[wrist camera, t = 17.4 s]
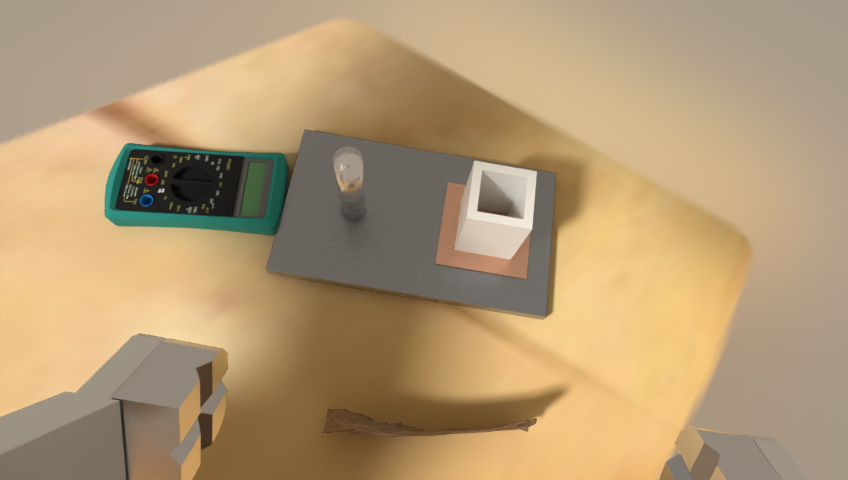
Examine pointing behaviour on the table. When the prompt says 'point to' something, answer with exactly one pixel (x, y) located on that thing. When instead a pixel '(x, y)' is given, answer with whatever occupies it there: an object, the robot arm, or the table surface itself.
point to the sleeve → (496, 210)
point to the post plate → (403, 227)
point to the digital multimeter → (197, 189)
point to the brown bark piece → (396, 426)
